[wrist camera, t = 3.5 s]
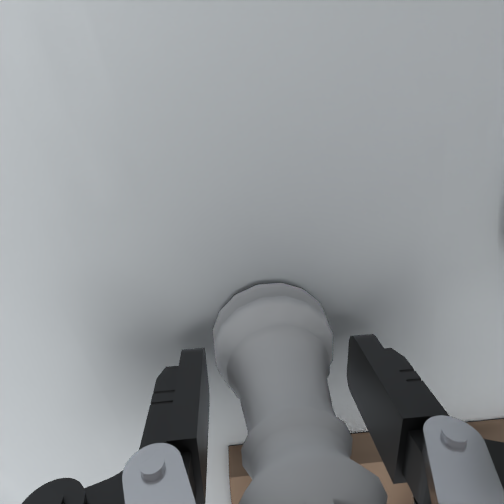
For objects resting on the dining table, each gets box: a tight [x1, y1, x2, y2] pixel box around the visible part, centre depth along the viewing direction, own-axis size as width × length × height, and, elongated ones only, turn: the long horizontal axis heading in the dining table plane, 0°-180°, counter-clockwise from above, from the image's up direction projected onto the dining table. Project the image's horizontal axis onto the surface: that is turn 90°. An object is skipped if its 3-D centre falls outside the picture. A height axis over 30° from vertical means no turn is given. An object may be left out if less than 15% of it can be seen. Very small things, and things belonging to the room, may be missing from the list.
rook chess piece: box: [212, 283, 388, 504], centre depth 10 cm, size 4×4×8 cm
